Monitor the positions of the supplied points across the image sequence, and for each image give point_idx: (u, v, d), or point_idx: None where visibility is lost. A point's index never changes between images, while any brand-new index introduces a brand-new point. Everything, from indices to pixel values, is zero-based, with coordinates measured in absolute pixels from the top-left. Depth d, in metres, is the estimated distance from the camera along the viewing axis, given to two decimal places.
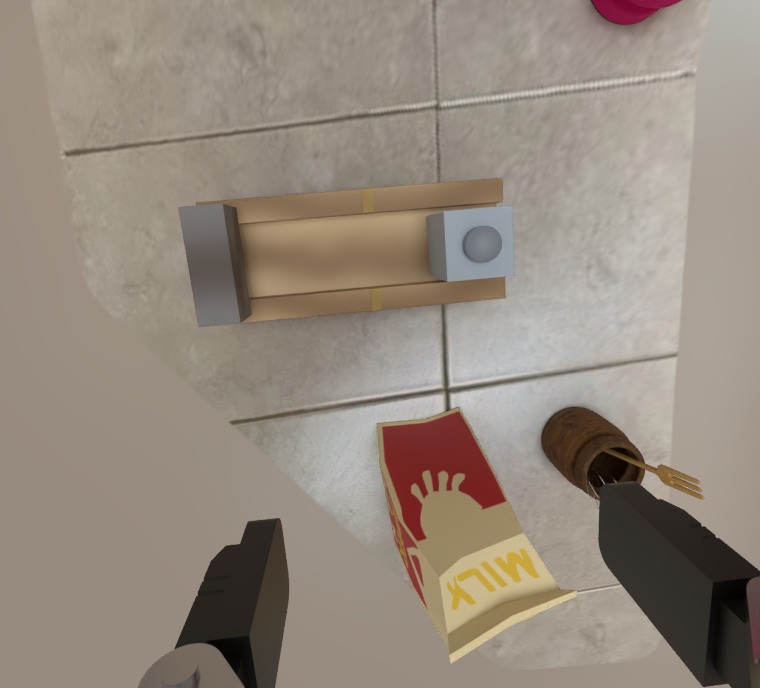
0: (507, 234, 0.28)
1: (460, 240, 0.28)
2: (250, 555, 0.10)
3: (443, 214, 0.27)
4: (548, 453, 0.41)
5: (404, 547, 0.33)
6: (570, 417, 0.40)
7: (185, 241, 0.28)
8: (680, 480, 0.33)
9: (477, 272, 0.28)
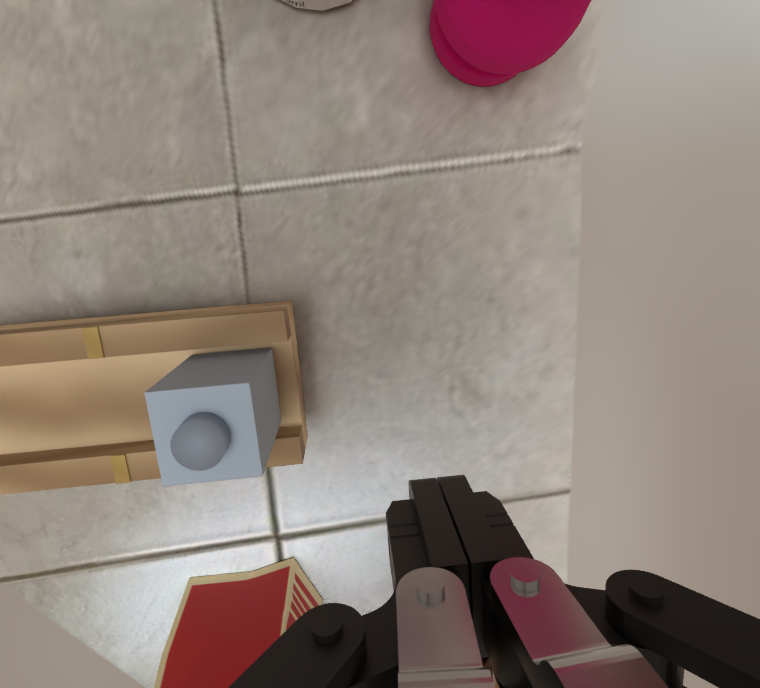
0: (245, 421, 0.19)
1: (175, 431, 0.19)
2: (429, 505, 0.11)
3: None
4: None
5: None
6: None
7: None
8: None
9: (206, 473, 0.19)
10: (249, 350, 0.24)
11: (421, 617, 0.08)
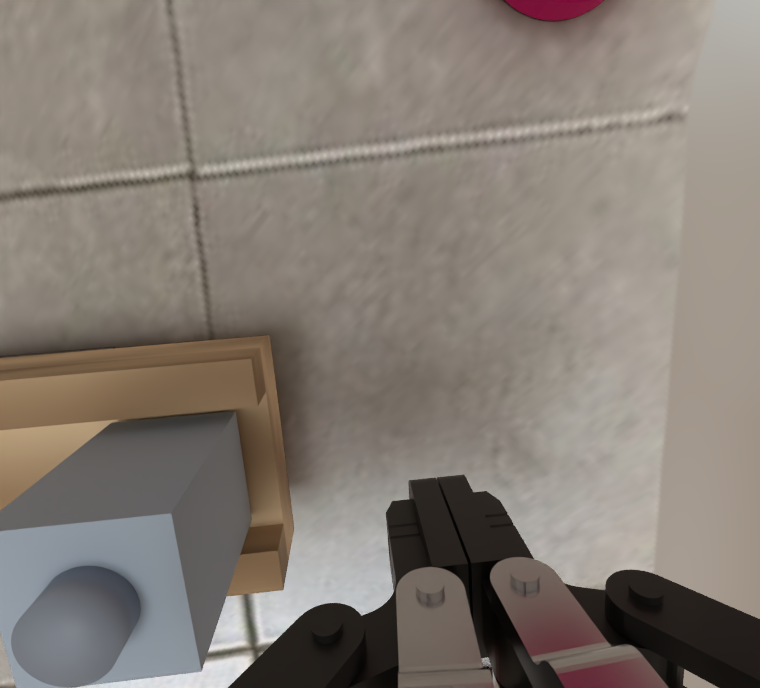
0: (165, 580, 0.10)
1: (34, 601, 0.10)
2: (429, 505, 0.11)
3: None
4: None
5: None
6: None
7: None
8: None
9: None
10: (199, 417, 0.15)
11: (421, 617, 0.08)
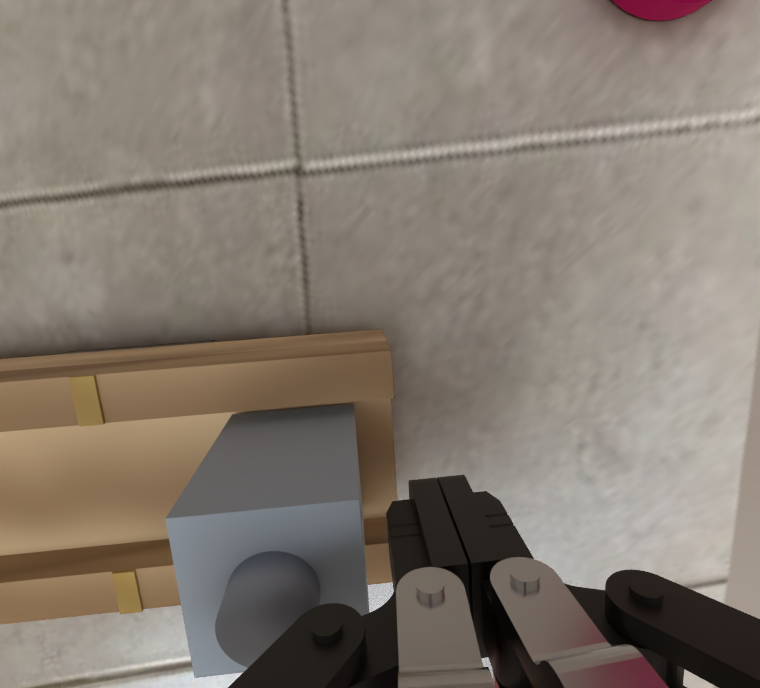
0: (347, 566, 0.10)
1: (219, 586, 0.10)
2: (429, 505, 0.11)
3: None
4: None
5: None
6: None
7: None
8: None
9: None
10: (320, 409, 0.16)
11: (421, 617, 0.08)
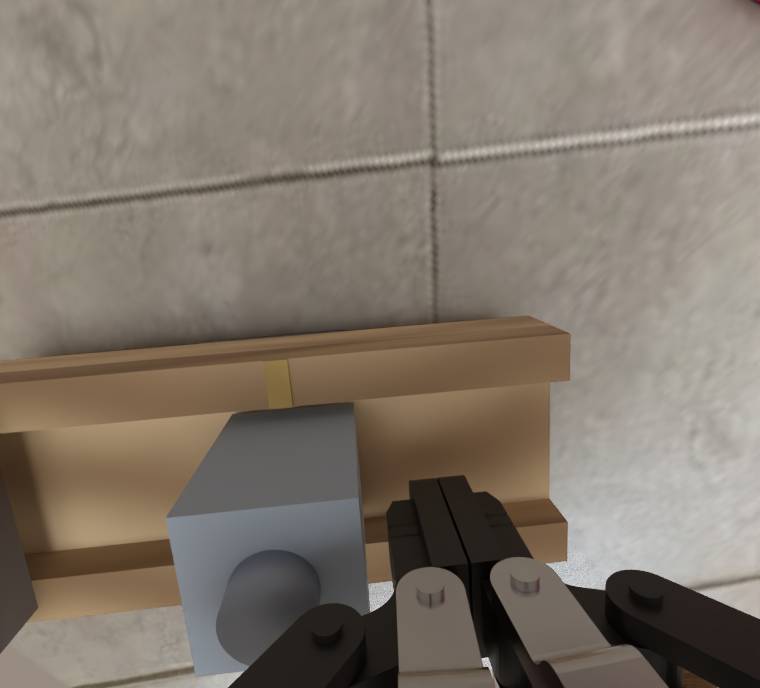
0: (346, 564, 0.10)
1: (220, 585, 0.10)
2: (429, 505, 0.11)
3: None
4: None
5: None
6: None
7: None
8: None
9: None
10: (320, 408, 0.16)
11: (421, 617, 0.08)
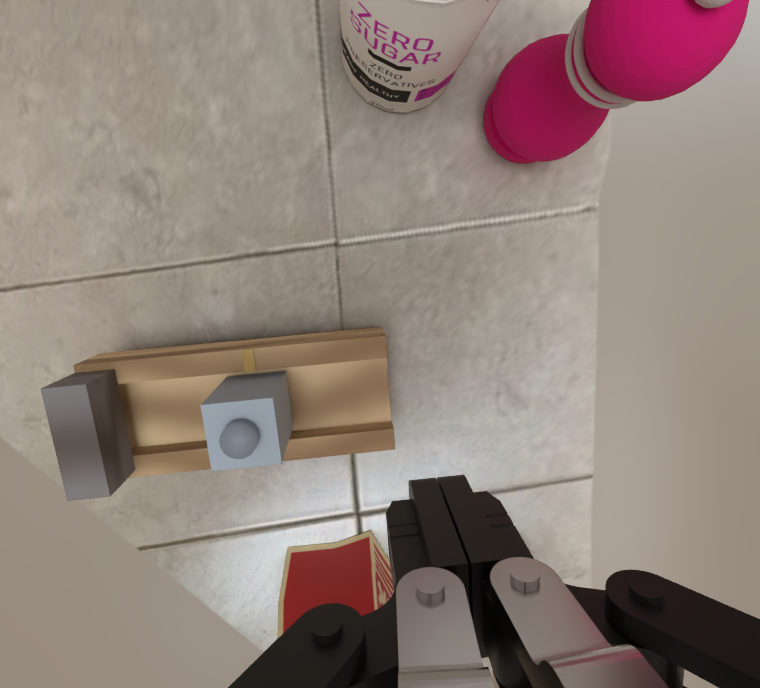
0: (269, 424, 0.27)
1: (220, 432, 0.27)
2: (429, 505, 0.11)
3: None
4: None
5: None
6: None
7: (49, 420, 0.28)
8: None
9: (242, 461, 0.27)
10: (269, 373, 0.32)
11: (421, 617, 0.08)
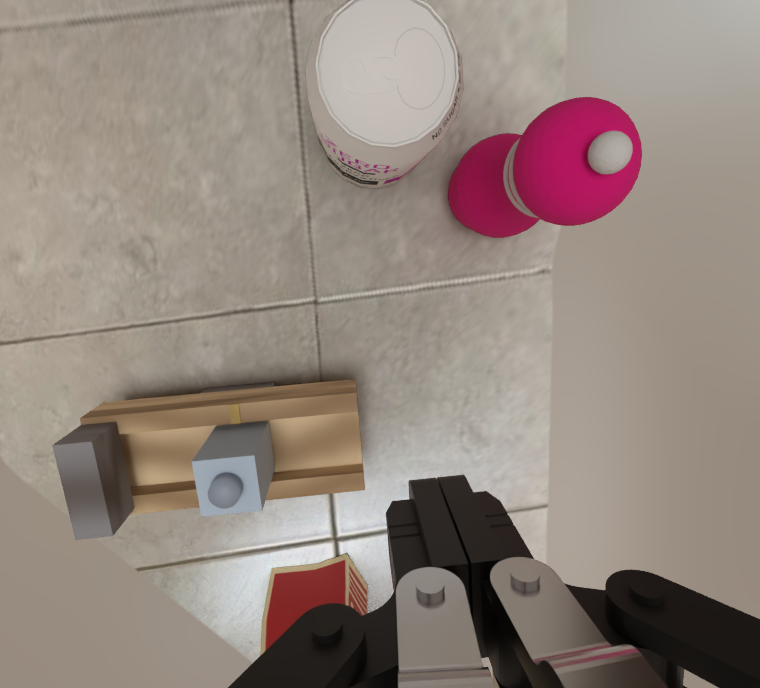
0: (251, 477, 0.31)
1: (209, 484, 0.31)
2: (429, 505, 0.11)
3: None
4: None
5: None
6: None
7: (60, 472, 0.32)
8: None
9: (228, 508, 0.32)
10: (253, 423, 0.36)
11: (421, 617, 0.08)
